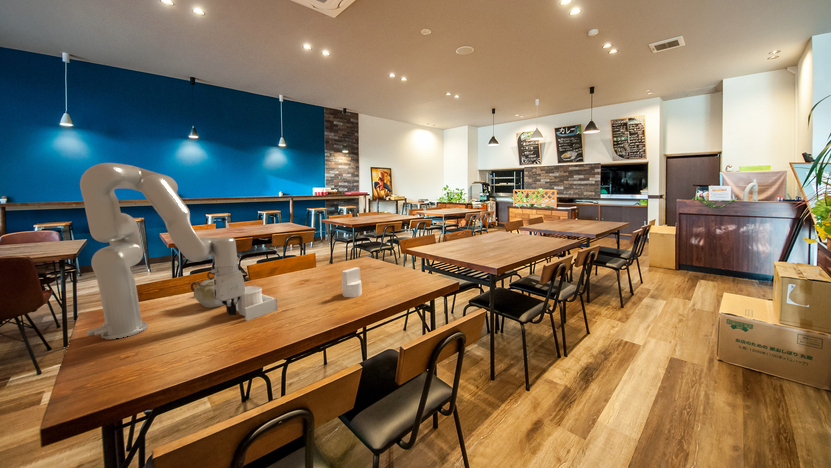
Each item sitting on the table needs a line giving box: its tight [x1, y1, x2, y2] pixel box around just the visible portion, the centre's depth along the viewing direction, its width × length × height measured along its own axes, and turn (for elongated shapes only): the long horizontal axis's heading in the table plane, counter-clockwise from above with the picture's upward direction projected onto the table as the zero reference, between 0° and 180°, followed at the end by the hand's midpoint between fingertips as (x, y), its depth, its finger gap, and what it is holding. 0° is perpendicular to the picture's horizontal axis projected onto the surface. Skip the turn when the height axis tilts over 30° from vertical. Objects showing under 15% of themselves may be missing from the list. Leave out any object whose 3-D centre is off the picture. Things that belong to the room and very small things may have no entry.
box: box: [230, 293, 278, 322], centre depth 134 cm, size 13×15×5 cm
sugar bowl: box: [190, 271, 225, 309], centre depth 142 cm, size 20×15×15 cm
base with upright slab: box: [341, 267, 363, 298], centre depth 153 cm, size 9×9×12 cm
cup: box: [237, 285, 263, 317], centre depth 133 cm, size 10×10×10 cm
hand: (232, 314), depth 127 cm, fingers closed
